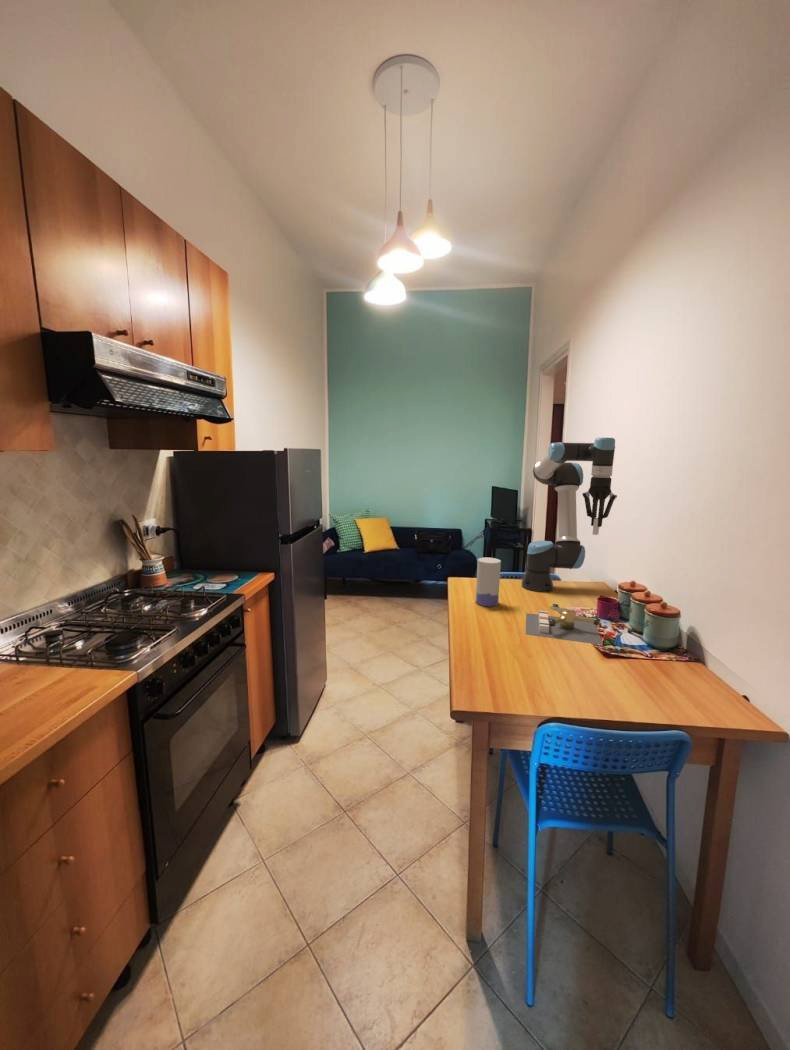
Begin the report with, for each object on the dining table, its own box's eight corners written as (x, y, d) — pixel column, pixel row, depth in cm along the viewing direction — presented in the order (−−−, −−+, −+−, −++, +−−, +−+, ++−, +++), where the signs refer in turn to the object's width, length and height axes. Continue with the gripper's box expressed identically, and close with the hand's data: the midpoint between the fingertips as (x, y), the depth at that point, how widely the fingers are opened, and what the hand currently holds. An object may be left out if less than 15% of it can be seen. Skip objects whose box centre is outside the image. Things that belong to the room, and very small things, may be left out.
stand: (525, 615, 177) (526, 606, 177) (593, 624, 170) (594, 614, 169) (525, 637, 157) (526, 627, 156) (602, 648, 149) (604, 637, 148)
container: (496, 599, 196) (499, 557, 193) (499, 607, 186) (502, 563, 183) (474, 598, 197) (476, 556, 194) (476, 606, 187) (478, 562, 184)
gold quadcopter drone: (550, 615, 175) (551, 598, 174) (598, 622, 168) (599, 606, 167) (546, 633, 157) (547, 615, 156) (599, 642, 150) (601, 624, 149)
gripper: (581, 476, 173) (576, 533, 177) (616, 477, 164) (609, 537, 168) (587, 475, 178) (582, 530, 182) (621, 477, 170) (615, 535, 174)
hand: (595, 534), depth 175 cm, fingers closed
